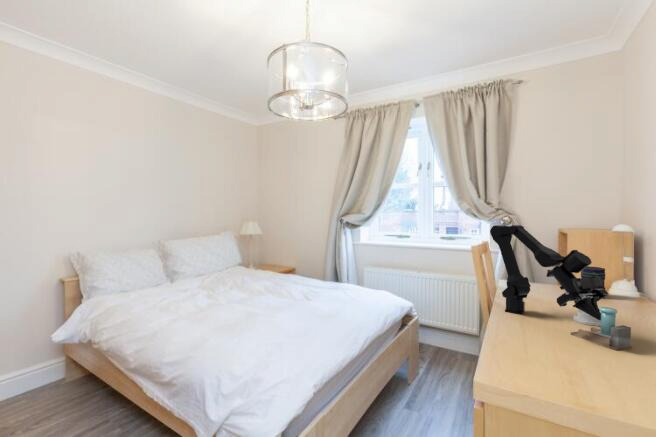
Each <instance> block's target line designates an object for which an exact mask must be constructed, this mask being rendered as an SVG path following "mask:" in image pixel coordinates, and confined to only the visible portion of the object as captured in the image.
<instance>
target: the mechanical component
mask: <svg viewBox="0 0 656 437" xmlns="http://www.w3.org/2000/svg"><path fill="white" fill-rule="evenodd" d="M576 313H577V314H574V315H572V319H573V321H575V322H577V323H580V324H583V325H588V326H594V327H595V326H597V327H601V320H598V319H596V318H594V317H592V316H591V315H589V314H587V313H585V312H583V311H581V310H580V309H578V308H577V311H576Z"/></svg>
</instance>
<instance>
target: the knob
mask: <svg viewBox="0 0 656 437" xmlns="http://www.w3.org/2000/svg"><path fill="white" fill-rule="evenodd" d="M598 308H599V310H600V313H601V326H600V330H601V331H596V332H595V334H597V335H600V336H603V337H606V338H609V339H611V327H615V326H616V315H617V314H618V309H617V308H612V307H607V306H600V307H599V306H598Z"/></svg>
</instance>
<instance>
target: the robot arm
mask: <svg viewBox="0 0 656 437" xmlns="http://www.w3.org/2000/svg"><path fill="white" fill-rule="evenodd" d="M489 233H490V235H491V238H492V239H493V241H494V242H495V243H496V244H497V245H498V248H499V251H500V254H501V257H502V261H503V264H504V267H505V270H506V273H507V278H506V279H507V280H506V287H505V289H504V290H503V291H502V292H501V295H502V297H503V298H505V309H504V312H505V313H506V312H507V313H512V314H516V315H522V314H524V312H525V311H526V301H524V299H526V298H527V296H528V295H529V294H530V292H531V287H532V285H531V283H530V281H529V278H528V277H527V276H523V275H522V274H521V271H520V268H519V265H518V261H517V259H516V256H515V252H514V249H513V247H512V238H513V236H514V237H515V238H516V239H518V240H519V242H521V243H522V244H523V245H524V246H525V247H526V248H527V249H528V250H529V251H530V252H532V254H533V256H534V259H535V261H536V262H537V263H538V265H540V266H541V267H542V268H552V269H547V272H546V277H547V278H551V277H553V278H554V279H555V280H556V281H557V282H558V283H559V285H560V287H559V289H560V290H563V291H565V292H564V293H562V294H560V295H559V296H558V297H557V298H556V303H557V305H558V306H559V307H560V308H561V307H566V306H567V305H568V304H567V303H568V302H573V303H574V304H573V305H572V307H573V308H576V309H577V310H578V309H579V310H581V311H583V312H585V313H587V314H589V315H591V316H592V317H594V318H596V319H598V320H601V311H600V310H599V306H598V305H599V304H598V302H599V301H601V300H602V298H604V297H605V298H606V297H608V296H609V294H610V293H609V292H608V291H607V290H606V288H605V289H594V290H593V289H592V288H595V287H602V286H603V285H602V284H603V282H604V283H605V280H604V281H603V280H602V279H601V278H600V277H599V276H598V275H597V276H592V277H590V278H589V279H584V280H583V279H581V277H579V278H577V276H576V275H575V274H579V273H581V271H582V270H583V269H585V268H586V267H587V266H589V267H590V265H592V259H591V258H590V257H589V256H588V255H586V254H584V253H582V252H580V251H579V250H578V249H572V250H571V251H570V252H569V253H568V254H566V255H565V256H562V255H561V253H559V252H557V251H555V250H553V249H552V248H550V247H547V246H545V245H544V244H543V243H541V241H539V240H538V239H536V238H535V237H534V236H533V235H532V234H531V233H530V232H529V231H528V230H526V229H525V227H524V226H522V225H521V224H518V225H517V224H512V225H508V224H507V225H505V224H501V225H493V226H492V227H491V228H490V230H489ZM591 290H592V291H591ZM589 291H591V292H589ZM588 292H589V293H588ZM605 298H604V299H605Z"/></svg>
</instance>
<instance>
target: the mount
mask: <svg viewBox="0 0 656 437" xmlns="http://www.w3.org/2000/svg"><path fill="white" fill-rule="evenodd" d="M577 330H578V331H573V332H572V331H571V332H570V335H571V336H575V337H578V338H580V339H583V340H586V341H589V342H591V343H595V344H597V345H600V346H602V347H605V348H609V349H612V350H614V351H621V350H625V349H627V350H628V349H632V348H633V344H632V345H631V343H632V341H631V339H632V338H631V337H632V336H631V335H632V334H631V333H632V327H631V326H627V325H624V324H623V325H618V326H617V325H615V327H611V339H609V338H606V337H603V336H600V335H597V334H595V332H596V331H601V328H596V327H595V326H594V327H592V326H591V327H590V331H589V330H585V329H582V328H579V329H577Z"/></svg>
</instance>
